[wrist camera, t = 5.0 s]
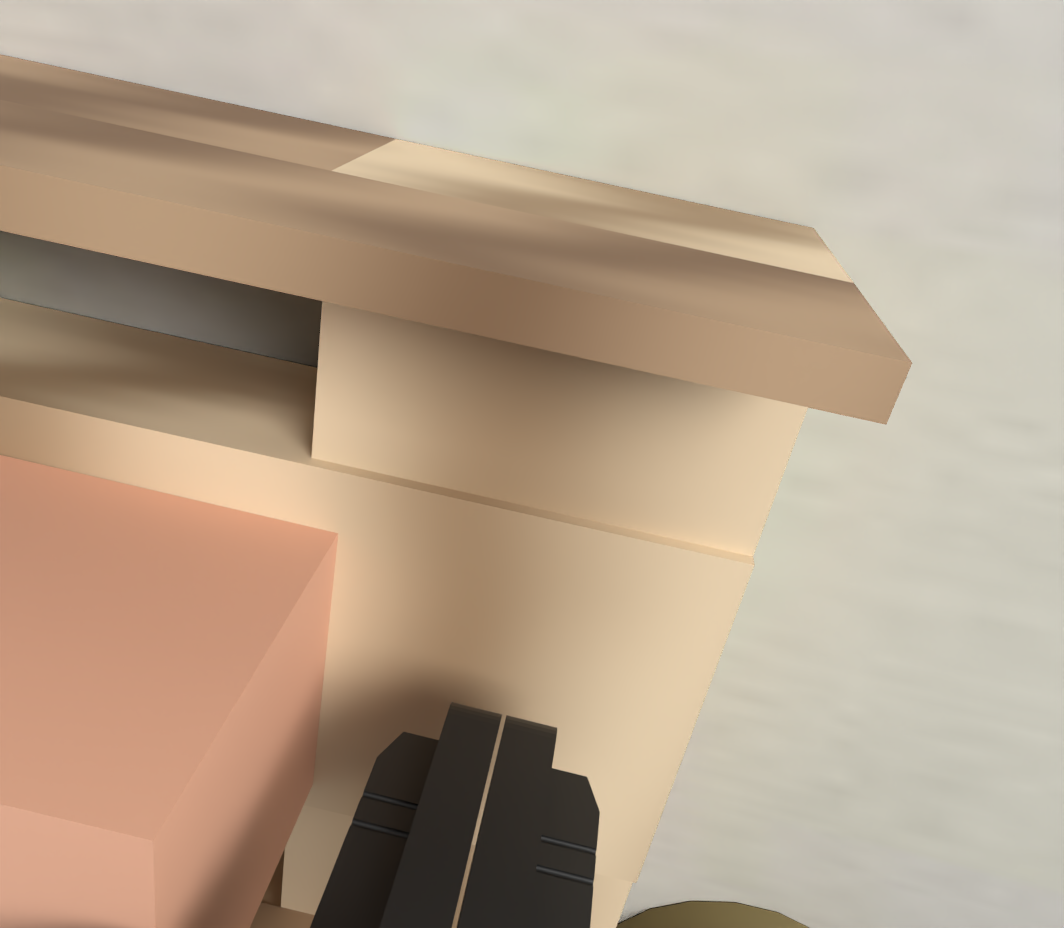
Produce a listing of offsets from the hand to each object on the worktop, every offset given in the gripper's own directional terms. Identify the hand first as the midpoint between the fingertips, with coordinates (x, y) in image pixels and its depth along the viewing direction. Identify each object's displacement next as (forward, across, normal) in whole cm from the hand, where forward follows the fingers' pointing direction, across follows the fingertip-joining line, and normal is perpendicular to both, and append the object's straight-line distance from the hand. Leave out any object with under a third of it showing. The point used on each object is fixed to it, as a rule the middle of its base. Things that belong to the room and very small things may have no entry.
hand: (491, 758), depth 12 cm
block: (+1, +5, 0) cm, 5 cm away
